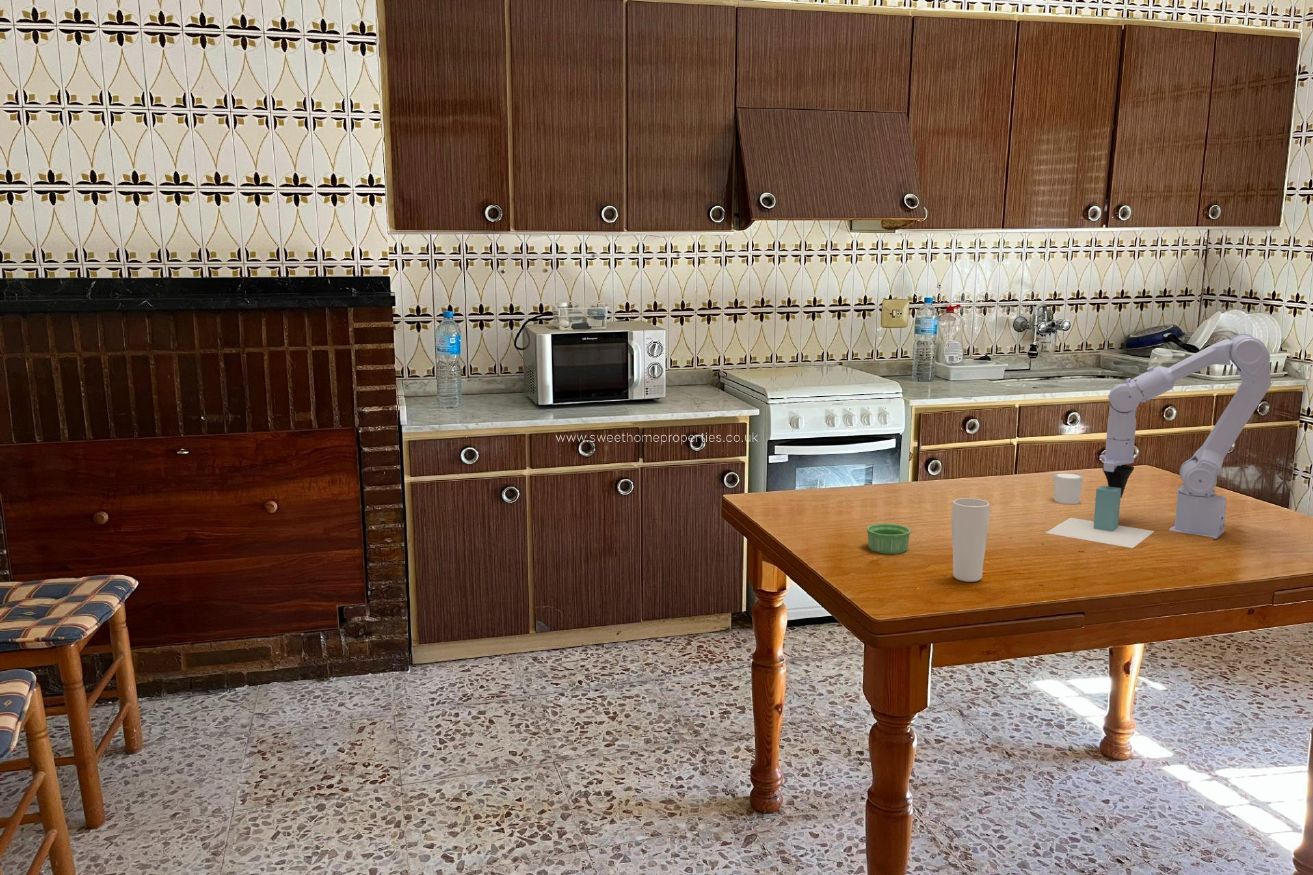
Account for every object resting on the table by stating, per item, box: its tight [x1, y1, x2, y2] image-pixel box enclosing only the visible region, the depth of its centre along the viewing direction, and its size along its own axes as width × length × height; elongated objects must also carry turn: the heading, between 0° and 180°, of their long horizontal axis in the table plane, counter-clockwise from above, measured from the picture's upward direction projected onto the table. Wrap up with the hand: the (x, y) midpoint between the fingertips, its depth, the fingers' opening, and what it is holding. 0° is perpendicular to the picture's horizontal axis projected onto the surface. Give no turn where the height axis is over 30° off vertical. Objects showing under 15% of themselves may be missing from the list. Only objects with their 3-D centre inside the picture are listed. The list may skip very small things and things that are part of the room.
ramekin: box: [866, 523, 912, 555], centre depth 212 cm, size 9×9×4 cm
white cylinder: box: [1053, 472, 1085, 505], centre depth 247 cm, size 7×7×7 cm
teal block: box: [1093, 485, 1121, 532], centre depth 223 cm, size 4×4×9 cm
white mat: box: [1045, 517, 1155, 549], centre depth 221 cm, size 18×16×1 cm
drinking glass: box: [951, 497, 990, 583], centre depth 192 cm, size 7×7×15 cm
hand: (1115, 497), depth 227 cm, fingers closed
